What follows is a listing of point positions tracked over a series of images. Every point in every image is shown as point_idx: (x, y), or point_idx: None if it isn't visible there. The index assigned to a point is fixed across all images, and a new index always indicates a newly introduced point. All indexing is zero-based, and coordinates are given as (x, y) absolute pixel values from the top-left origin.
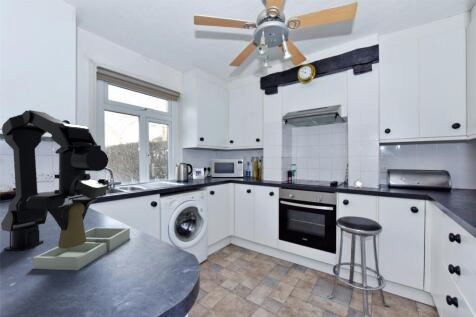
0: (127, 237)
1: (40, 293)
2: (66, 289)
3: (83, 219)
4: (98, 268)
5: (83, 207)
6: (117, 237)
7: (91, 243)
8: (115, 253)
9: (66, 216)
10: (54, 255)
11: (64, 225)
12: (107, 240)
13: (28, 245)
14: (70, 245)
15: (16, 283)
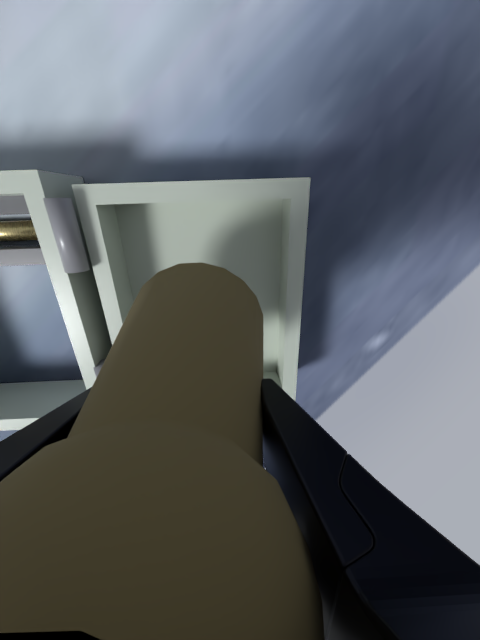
0: None
1: (458, 181)
2: (453, 82)
3: (60, 407)
4: (275, 71)
5: None
6: None
7: (113, 277)
8: (99, 108)
9: (336, 478)
10: None
11: (296, 405)
12: (49, 192)
13: None
14: (251, 296)
15: (375, 333)
